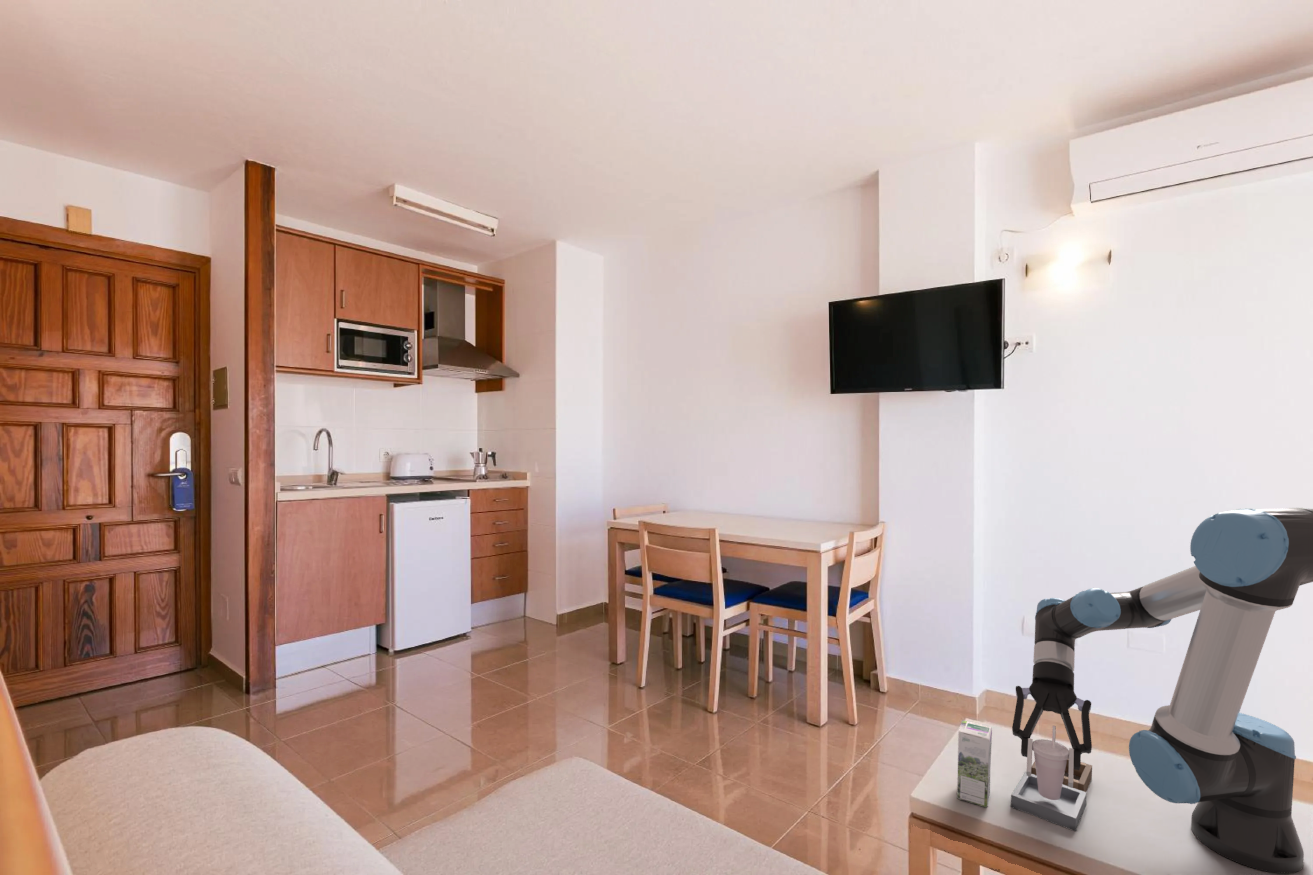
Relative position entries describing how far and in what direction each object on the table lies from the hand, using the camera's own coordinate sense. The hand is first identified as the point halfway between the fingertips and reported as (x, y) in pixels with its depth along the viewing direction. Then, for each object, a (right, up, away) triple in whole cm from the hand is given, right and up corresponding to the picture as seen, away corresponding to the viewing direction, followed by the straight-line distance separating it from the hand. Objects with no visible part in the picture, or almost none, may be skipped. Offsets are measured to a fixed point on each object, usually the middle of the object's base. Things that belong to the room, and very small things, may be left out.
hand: (1049, 779), depth 126 cm
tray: (+2, -7, +3) cm, 8 cm away
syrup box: (-12, -7, +6) cm, 15 cm away
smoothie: (+2, -5, +3) cm, 6 cm away
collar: (+10, -7, +12) cm, 17 cm away
